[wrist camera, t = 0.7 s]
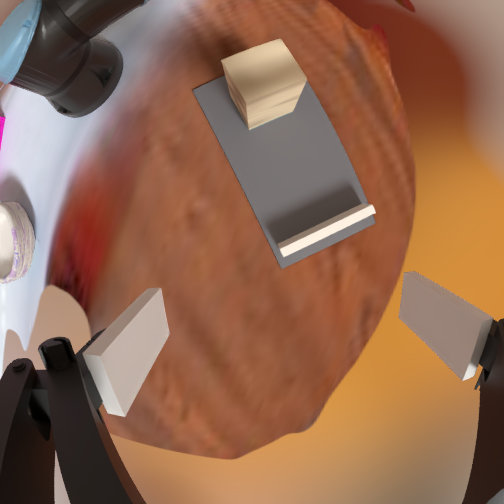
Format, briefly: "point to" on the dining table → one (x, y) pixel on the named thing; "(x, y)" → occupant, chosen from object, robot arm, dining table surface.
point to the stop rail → (325, 229)
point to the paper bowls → (15, 242)
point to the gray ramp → (287, 168)
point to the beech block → (264, 82)
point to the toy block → (1, 128)
